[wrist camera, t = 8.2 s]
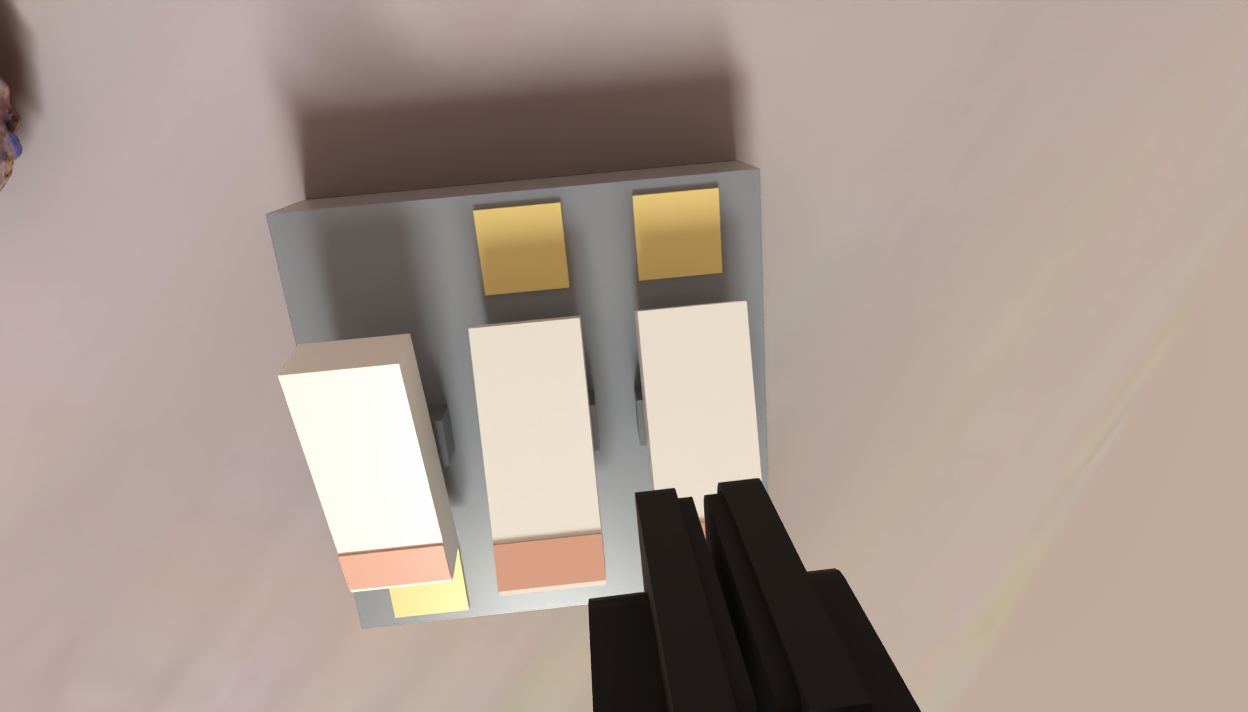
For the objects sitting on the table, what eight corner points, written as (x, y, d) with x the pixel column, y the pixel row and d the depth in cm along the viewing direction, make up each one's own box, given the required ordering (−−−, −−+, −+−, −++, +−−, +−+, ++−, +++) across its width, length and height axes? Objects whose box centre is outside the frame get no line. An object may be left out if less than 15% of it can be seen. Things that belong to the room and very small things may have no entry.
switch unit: (304, 200, 30) (249, 220, 25) (736, 160, 30) (769, 172, 25) (384, 572, 35) (352, 652, 30) (749, 533, 36) (779, 605, 31)
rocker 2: (477, 325, 27) (467, 328, 25) (580, 315, 27) (579, 317, 25) (506, 573, 28) (499, 597, 25) (605, 563, 28) (606, 585, 26)
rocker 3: (634, 310, 27) (637, 311, 25) (735, 300, 27) (747, 300, 25) (658, 559, 28) (663, 580, 26) (756, 548, 28) (769, 568, 26)
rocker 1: (297, 344, 25) (277, 377, 23) (410, 333, 25) (398, 365, 23) (363, 552, 29) (350, 594, 27) (459, 542, 29) (452, 583, 27)
